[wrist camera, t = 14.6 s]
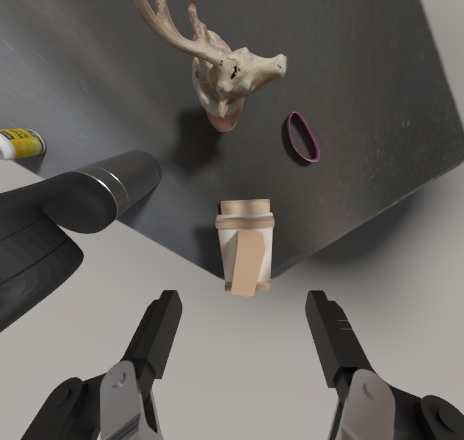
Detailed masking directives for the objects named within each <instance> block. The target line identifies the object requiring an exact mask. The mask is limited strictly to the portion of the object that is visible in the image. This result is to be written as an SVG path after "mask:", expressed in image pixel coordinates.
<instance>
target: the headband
mask: <svg viewBox="0 0 464 440" xmlns="http://www.w3.org/2000/svg"><path fill="white" fill-rule="evenodd" d="M293 113H296V114H297V115H298V116H299V117H300V118H301V120H302V121H303V123H304V124H305V126H306V128H307V130H308V132H309V134H310V136H311V138H312V140H313V142H314V145H315V147H316V152H317V155H316V158H315V159H312V160H309V159H306V158H304V157H303V158H304V159H306V160H308V161H311V162H316V161H318V160H319V158H320V151H319V148H318V145H317V143H316V141H315V138H314V136H313V134H312V132H311V130H310V129H309V127H308V125H307V123H306V122H305V120H304V118H303V117H302V116H301V115H300V114H299V113H298V112H291V113H290V115H289V117H288V123H287V127H288V134H289V138H290V141H291V144H292V146H293V148H294V149H295V150H296V148H295V146H294V144H293V142H292V139H291V135H290V118H291V116H292V114H293ZM296 152H297V153H298V151H297V150H296ZM298 154H299V153H298ZM299 155H300V154H299ZM300 156H301V155H300Z"/></svg>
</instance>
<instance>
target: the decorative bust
mask: <svg viewBox="0 0 464 440" xmlns="http://www.w3.org/2000/svg"><path fill="white" fill-rule="evenodd" d="M134 2H135V4H136V6H137V8H138V10H139V12H140V14H141V17H142V18H143V19H144V20H145V21H146V23H147V24H148V25H149V26H150V27H151V29H152V30H153V31H154V32H155V33H156V34H157V35H158V36H159V37H160V38H162V39H163V40H164V41H165V42H166V43H168V44H169V45H171V46H173V47H174V48H176V49H178V50H180V51H182V52H184V53H186V54H189V55H192V61H193V85H194V87H195V90H196V92H197V94H198V97H199V100H200V102H201V104H202V106H203V107H204V108H205V109H206V112H207V115H208V118H209V120H210V122H211V124H212V125H213V126H214V127H215V129H217V130H218V131H220V132H228V131H231V130H232V129H233V128H234V127H235V126H236V124H237V122H238V119H239V116H240V114H241V110H242V107H243V103H244V100H245V97H246V96H248V95H249V94H251V93H253V92H256V91H257V90H259V89H260V88H262V87H263V86H264V85H266V84H267V83H269V82H271V81H273V80H277V79H281V78H283V77H284V76H285V75H286V73H287V67H288V65H287V57H285V56H284V55H282V54H279V55H277V56H276V57H273V58H262V57H258V56H256V55H254V54H252V53H250V52H249V51H248V49H247V48H246V47H245V48H241V49H238V50H236V51H234V52H232V51H231V49H230V48H229V47H228V46H227V44H226V43H225V42H224V41H223V40H222V39H221V38H220V37H219V36H218V35H217V34H215V33H214V32H211V31H209V30H207V28H206V26H205V25H204V24H202V23H201V22H200V21H199V19H198V18H197V15H196V9H195V5H194V4H190V5H189V8H188V13H189V17H190V21H191V24H192V27H193V30H194V33H195V35H194V37H193V40H192V41H190V40H187V39H185V38H184V37H183V36H181V35H180V34H179V32H178V31H177V29H176V28H175V26H174V24H173V22H172V19H171V17H170V14H169V10H168V7H167V4H166V0H155V3H156V8H157V16H156V15H155V14H154V12H153V11H152V9H151V7H150V5H149V3H148V1H147V0H134Z"/></svg>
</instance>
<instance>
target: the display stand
mask: <svg viewBox="0 0 464 440" xmlns="http://www.w3.org/2000/svg"><path fill="white" fill-rule="evenodd" d="M269 210H270V201H269V199H260V200H238V201H221V212H222V215H217V218H216V222H215V224H216V229H218V232H219V239H220V246H221V253H222V261H223V268H224V275H225V281H226V282H225V291H231V284H232V272H233V265H234V258H235V251H236V243H237V236H238V230H246V231H255V232H263V239H264V245H265V253H264V257H263V261H262V265H261V269H260V273H259V277H258V281H257V285H256V289H255V291H271V285H270V273H271V251H272V229H273V227H274V217H273V214H272V213H269Z"/></svg>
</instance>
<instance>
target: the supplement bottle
mask: <svg viewBox="0 0 464 440" xmlns="http://www.w3.org/2000/svg"><path fill="white" fill-rule="evenodd" d="M45 150H46V146H45V143H44V141H43V139H42V138H41V136H40V135H39V134H38V133H36V132H35V131H33V130H31V129H26V128H23V129H5V130H0V159H1V160H12V159H18V158H23V157H28V156H34V155H39V154H42V153H44V152H45Z"/></svg>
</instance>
